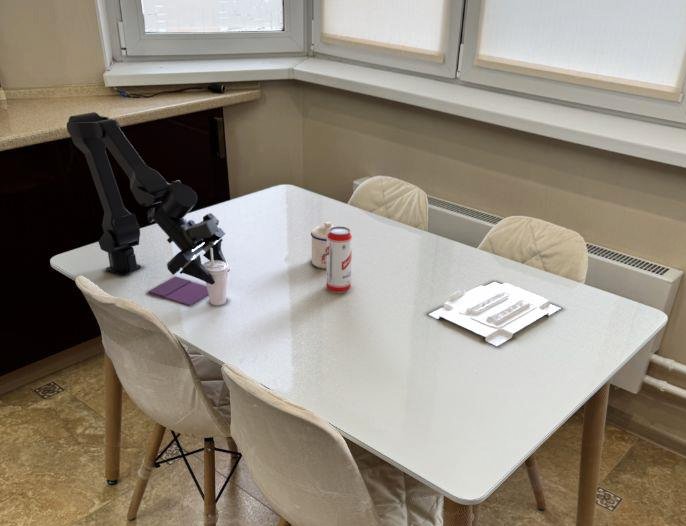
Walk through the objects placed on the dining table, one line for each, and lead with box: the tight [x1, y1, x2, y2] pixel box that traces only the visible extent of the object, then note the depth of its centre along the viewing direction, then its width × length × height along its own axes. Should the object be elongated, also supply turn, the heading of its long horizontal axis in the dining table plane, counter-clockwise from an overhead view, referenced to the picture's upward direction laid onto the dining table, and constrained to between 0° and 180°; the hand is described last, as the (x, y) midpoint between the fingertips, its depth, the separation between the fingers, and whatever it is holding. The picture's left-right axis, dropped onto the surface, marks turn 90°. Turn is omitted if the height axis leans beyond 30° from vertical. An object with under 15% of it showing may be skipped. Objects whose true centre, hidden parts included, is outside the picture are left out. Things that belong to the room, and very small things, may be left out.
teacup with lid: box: [310, 221, 336, 270], centre depth 189 cm, size 12×9×12 cm
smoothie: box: [201, 248, 230, 306], centre depth 166 cm, size 6×6×14 cm
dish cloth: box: [148, 276, 209, 306], centre depth 173 cm, size 13×10×1 cm
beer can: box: [325, 225, 353, 294], centre depth 174 cm, size 6×6×16 cm
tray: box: [428, 281, 562, 347], centre depth 170 cm, size 20×28×4 cm
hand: (221, 277), depth 165 cm, fingers open, 7 cm apart
